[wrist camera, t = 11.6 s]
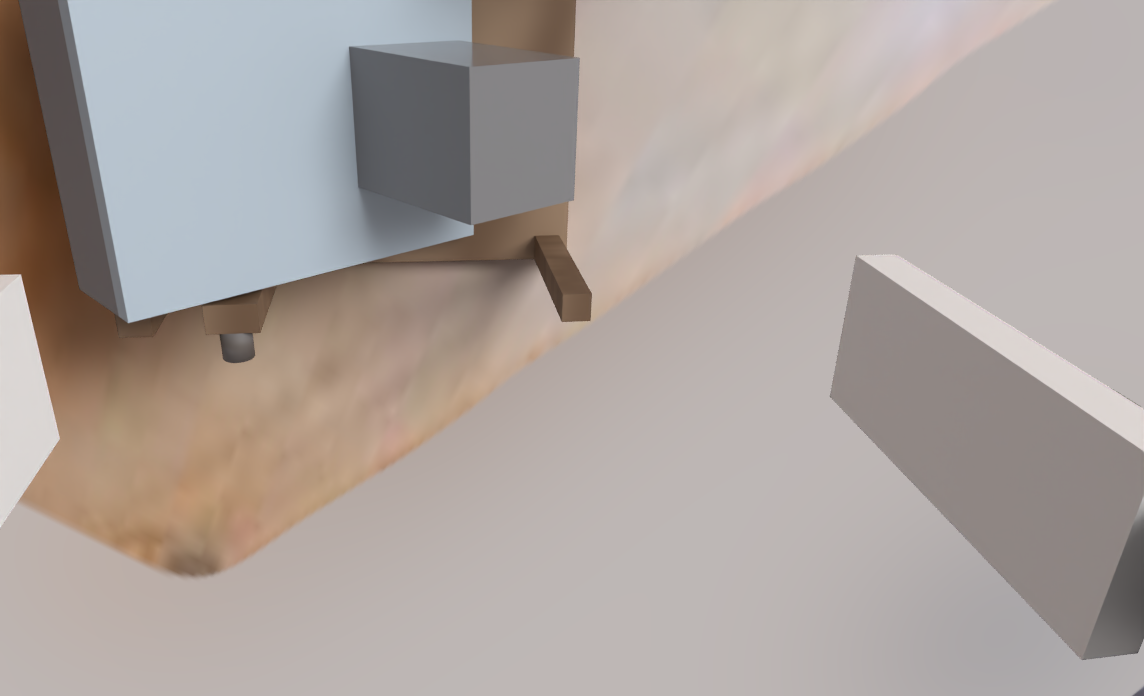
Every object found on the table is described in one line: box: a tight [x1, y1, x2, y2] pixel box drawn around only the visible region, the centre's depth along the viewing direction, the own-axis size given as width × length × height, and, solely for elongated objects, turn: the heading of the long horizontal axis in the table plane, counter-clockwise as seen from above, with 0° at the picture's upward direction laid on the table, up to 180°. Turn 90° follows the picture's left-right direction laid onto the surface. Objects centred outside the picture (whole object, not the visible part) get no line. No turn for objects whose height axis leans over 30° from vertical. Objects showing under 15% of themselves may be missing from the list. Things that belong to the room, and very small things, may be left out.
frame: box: [115, 0, 592, 363], centre depth 35 cm, size 19×18×9 cm
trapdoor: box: [19, 0, 474, 323], centre depth 35 cm, size 16×13×4 cm
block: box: [349, 40, 580, 225], centre depth 34 cm, size 6×6×7 cm
